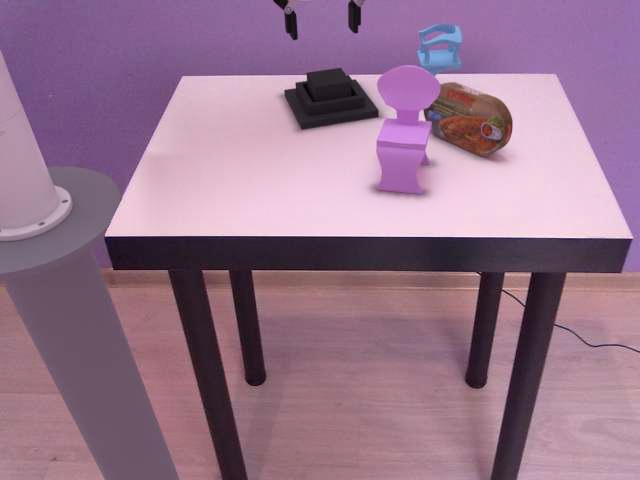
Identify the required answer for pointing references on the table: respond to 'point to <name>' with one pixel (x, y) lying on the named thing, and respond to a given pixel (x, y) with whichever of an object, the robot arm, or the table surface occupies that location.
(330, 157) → the table surface
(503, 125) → the tin
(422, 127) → the toy chair
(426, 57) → the chair
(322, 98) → the black square block
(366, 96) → the base pad
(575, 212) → the table surface
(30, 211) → the robot arm
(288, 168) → the table surface
